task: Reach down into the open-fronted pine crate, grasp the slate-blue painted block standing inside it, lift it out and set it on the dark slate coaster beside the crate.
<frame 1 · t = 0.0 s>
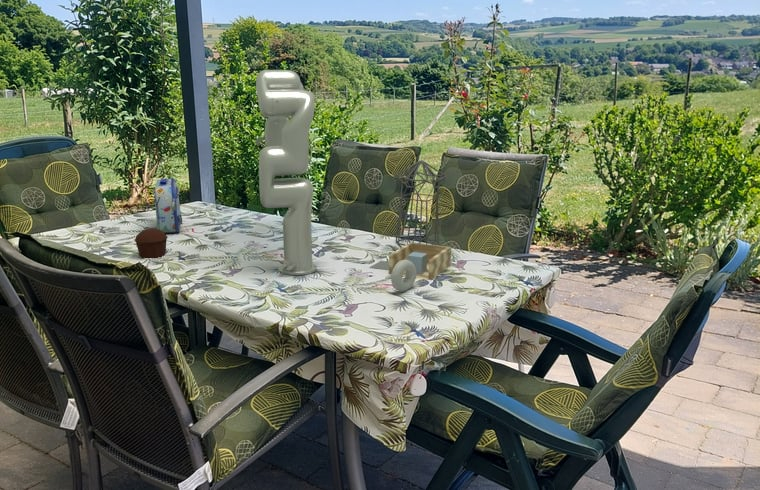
hand: (278, 161, 262), 31 cm above the table, tool pointing down, fingers open, 9 cm apart
coaster: (387, 267, 231), on the table
lunch box: (170, 229, 285), on the table
geometric lantern: (418, 255, 248), on the table
block: (417, 271, 225), resting on crate
crate: (420, 270, 228), on the table
donut: (403, 291, 207), on the table
muffin: (152, 256, 245), on the table
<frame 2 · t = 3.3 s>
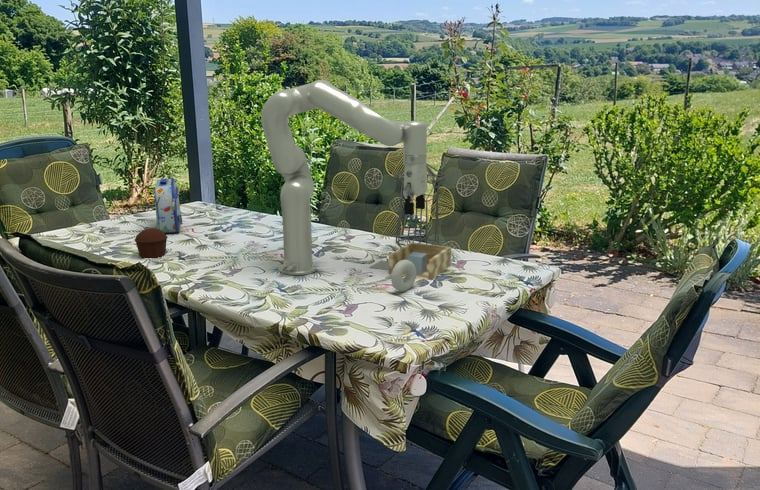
hand: (414, 211, 221), 21 cm above the table, tool pointing down, fingers open, 9 cm apart
nothing on the table moved.
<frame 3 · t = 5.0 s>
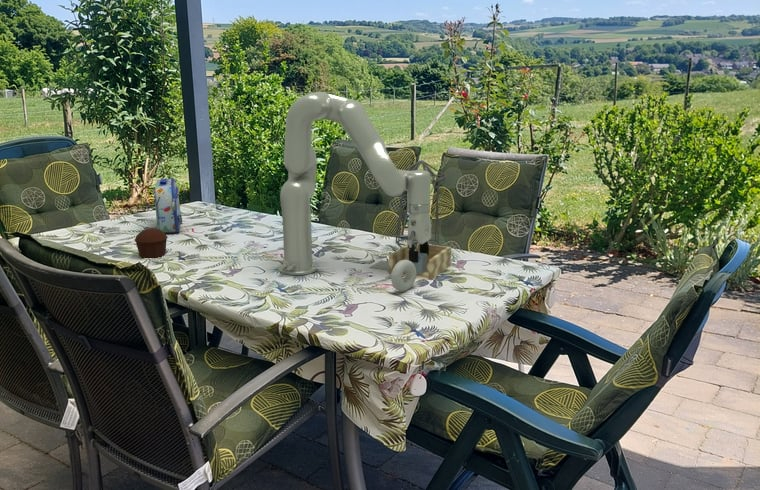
hand: (419, 258, 224), 5 cm above the table, tool pointing down, fingers open, 9 cm apart
nothing on the table moved.
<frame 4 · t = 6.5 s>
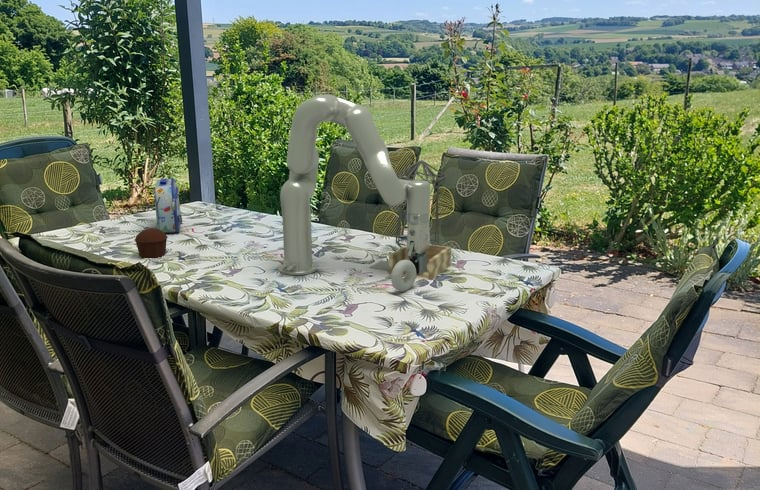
hand: (417, 270, 225), 1 cm above the table, tool pointing down, fingers closed on block, 5 cm apart
block: (417, 271, 225), point 1 cm above the table, touching crate, gripper
everything else where it was.
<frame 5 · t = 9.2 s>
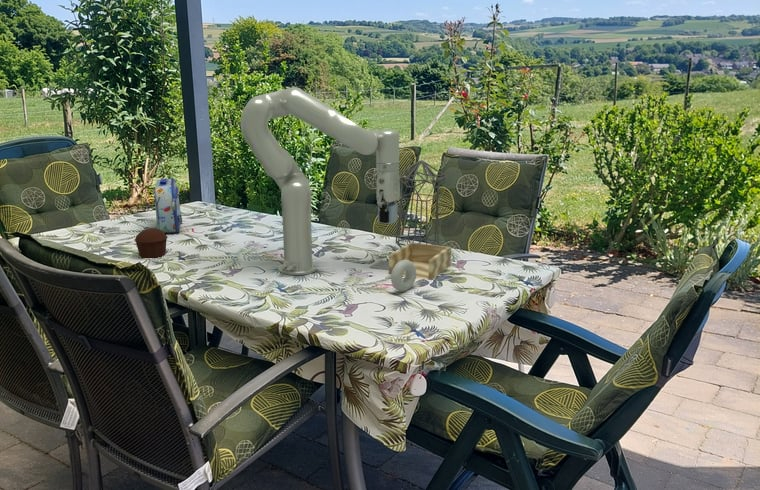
hand: (387, 220, 227), 17 cm above the table, tool pointing down, fingers closed on block, 5 cm apart
block: (387, 221, 227), point 16 cm above the table, touching gripper
everything else where it was.
when the fingers open (3 cm above the table, at t = 12.0 s): block drops 2 cm, resting on coaster.
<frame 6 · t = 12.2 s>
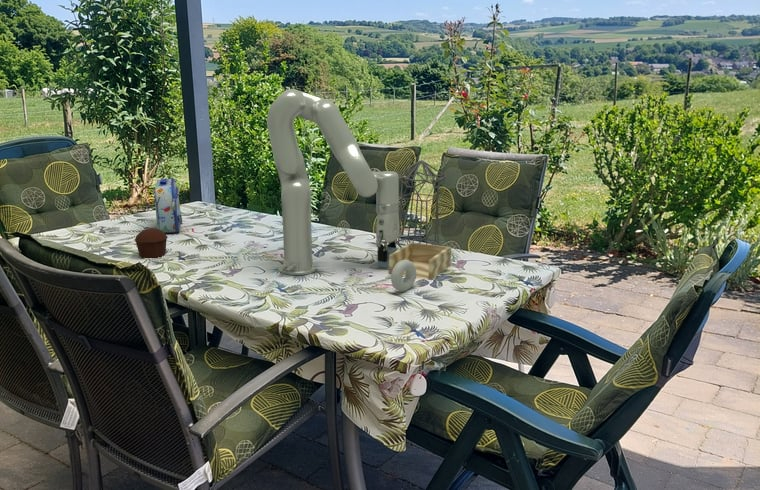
hand: (387, 258, 231), 3 cm above the table, tool pointing down, fingers open, 7 cm apart
block: (387, 265, 231), point 1 cm above the table, touching coaster
everything else where it was.
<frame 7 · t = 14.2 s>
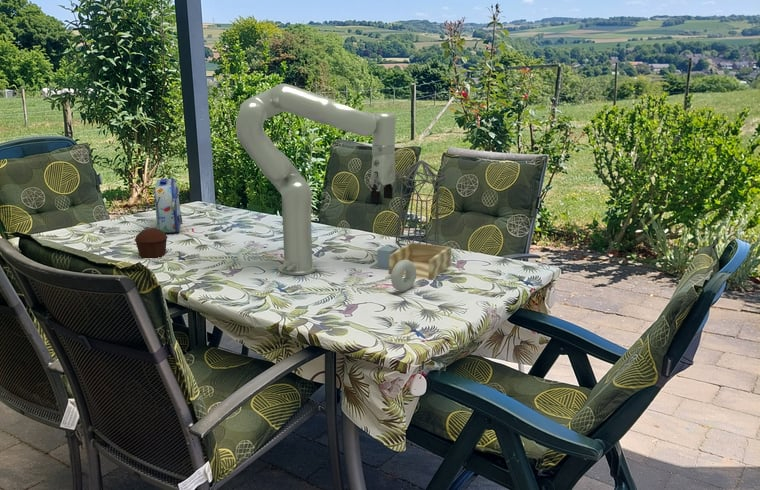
hand: (381, 200, 228), 23 cm above the table, tool pointing down, fingers open, 9 cm apart
nothing on the table moved.
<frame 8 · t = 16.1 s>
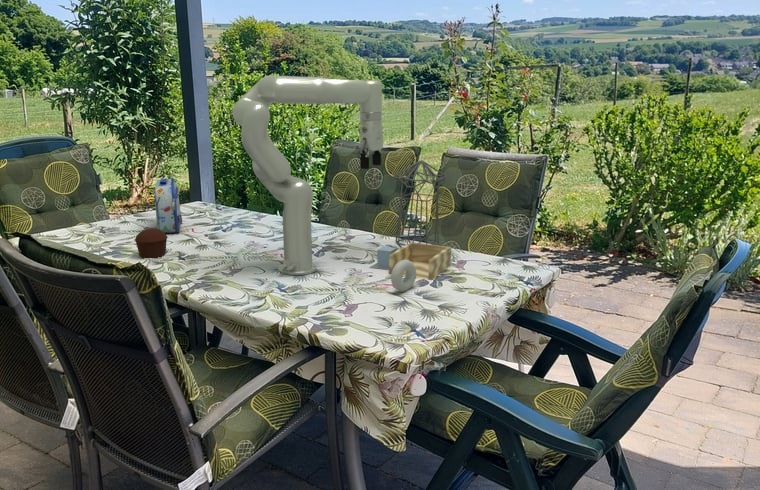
hand: (370, 166, 234), 33 cm above the table, tool pointing down, fingers open, 9 cm apart
nothing on the table moved.
at the end: block inside the target area on the coaster (0.0 cm from its centre), point 0.6 cm above the coaster's base; block tilted 0°; the gripper is holding nothing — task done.
